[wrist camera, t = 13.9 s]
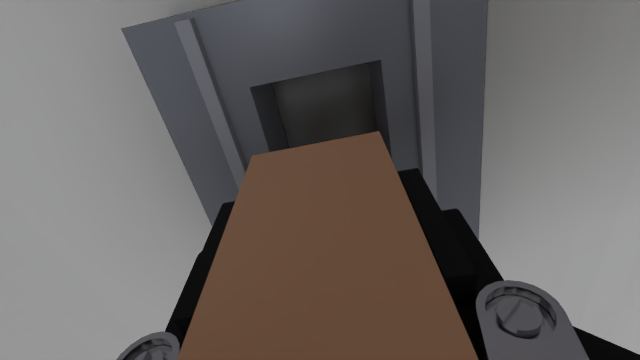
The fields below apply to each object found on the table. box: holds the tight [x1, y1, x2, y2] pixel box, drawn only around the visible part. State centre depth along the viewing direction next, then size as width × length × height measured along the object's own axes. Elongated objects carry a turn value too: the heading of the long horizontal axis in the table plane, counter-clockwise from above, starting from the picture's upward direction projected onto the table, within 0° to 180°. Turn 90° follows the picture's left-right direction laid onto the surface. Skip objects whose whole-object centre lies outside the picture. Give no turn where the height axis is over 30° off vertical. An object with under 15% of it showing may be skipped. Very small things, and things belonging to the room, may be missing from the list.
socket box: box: [122, 0, 488, 239], centre depth 19 cm, size 14×18×6 cm
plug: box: [177, 131, 478, 360], centre depth 7 cm, size 5×5×10 cm
